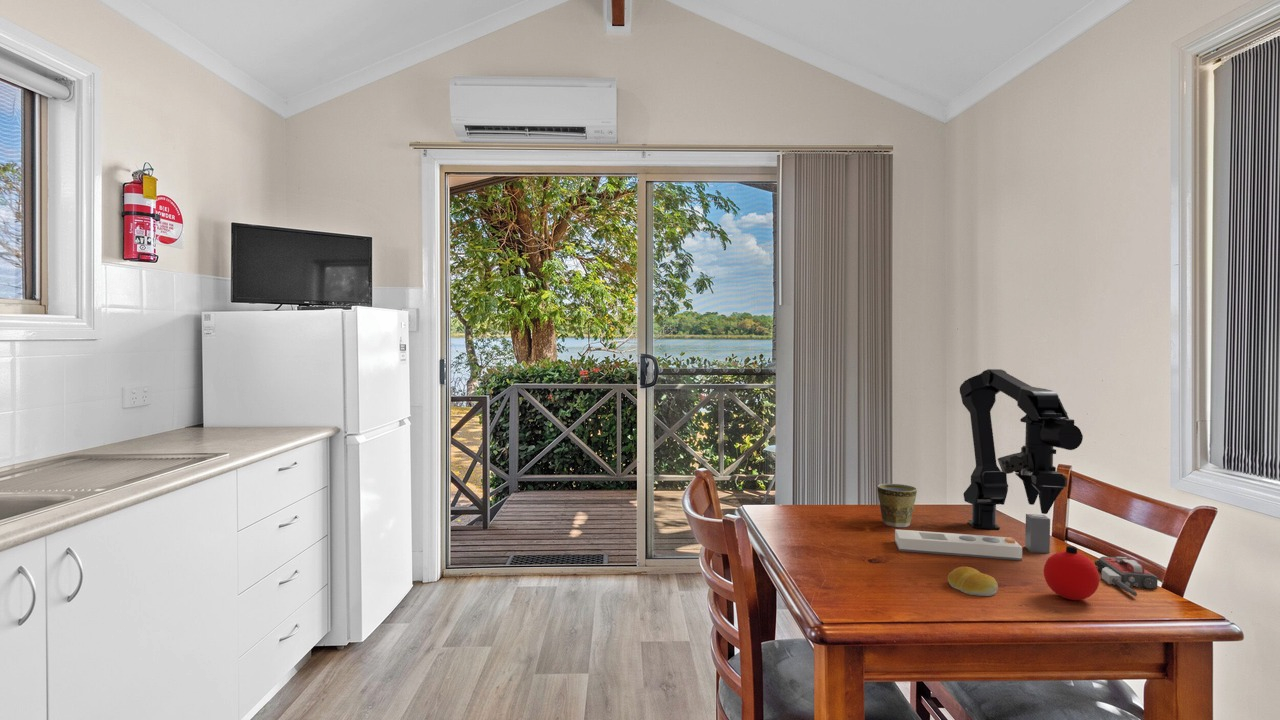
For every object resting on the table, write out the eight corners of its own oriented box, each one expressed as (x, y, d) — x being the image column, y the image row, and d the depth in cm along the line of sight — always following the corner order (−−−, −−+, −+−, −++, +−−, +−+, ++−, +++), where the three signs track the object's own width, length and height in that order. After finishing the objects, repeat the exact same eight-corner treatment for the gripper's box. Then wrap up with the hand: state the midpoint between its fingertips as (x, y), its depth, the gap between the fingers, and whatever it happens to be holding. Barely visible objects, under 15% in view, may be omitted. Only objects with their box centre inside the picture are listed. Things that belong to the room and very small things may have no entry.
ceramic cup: (922, 529, 177) (923, 491, 176) (884, 528, 177) (884, 491, 177) (903, 516, 190) (904, 481, 189) (868, 516, 190) (868, 481, 190)
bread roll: (976, 600, 128) (976, 579, 128) (940, 584, 136) (940, 564, 136) (1009, 594, 131) (1009, 574, 130) (971, 579, 139) (972, 560, 139)
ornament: (1108, 609, 123) (1109, 555, 123) (1055, 605, 125) (1056, 552, 124) (1085, 591, 132) (1086, 541, 132) (1035, 588, 134) (1036, 538, 133)
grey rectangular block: (1025, 546, 162) (1025, 513, 162) (1043, 548, 161) (1044, 514, 161) (1030, 551, 158) (1031, 517, 158) (1049, 553, 157) (1050, 518, 157)
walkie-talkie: (1083, 567, 148) (1128, 601, 129) (1084, 547, 148) (1129, 578, 128) (1128, 570, 146) (1181, 605, 127) (1129, 550, 146) (1181, 582, 127)
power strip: (895, 541, 165) (895, 526, 165) (1011, 550, 159) (1012, 535, 159) (899, 550, 157) (899, 535, 157) (1022, 560, 151) (1022, 544, 151)
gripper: (991, 436, 170) (990, 498, 170) (1013, 447, 152) (1011, 516, 152) (1040, 438, 167) (1039, 501, 168) (1068, 450, 149) (1066, 519, 149)
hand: (1037, 508), depth 159 cm, fingers open, 9 cm apart
